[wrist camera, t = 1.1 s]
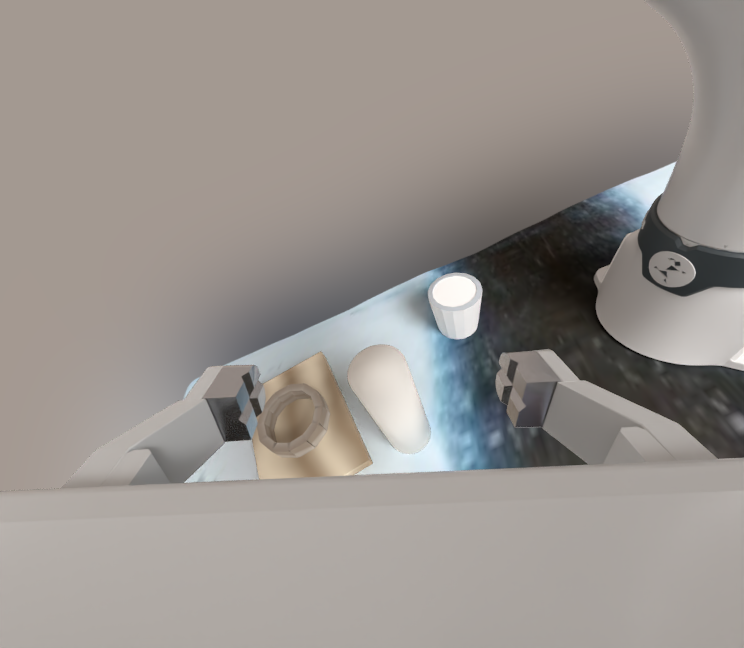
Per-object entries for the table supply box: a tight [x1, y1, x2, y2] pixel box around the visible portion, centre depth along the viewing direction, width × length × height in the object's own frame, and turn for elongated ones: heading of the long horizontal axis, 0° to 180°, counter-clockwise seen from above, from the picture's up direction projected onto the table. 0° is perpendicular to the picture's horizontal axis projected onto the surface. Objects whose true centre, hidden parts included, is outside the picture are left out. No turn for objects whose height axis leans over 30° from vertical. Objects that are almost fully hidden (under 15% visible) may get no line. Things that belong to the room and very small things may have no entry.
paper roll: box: [347, 345, 431, 454], centre depth 31 cm, size 5×5×15 cm
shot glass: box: [428, 273, 482, 339], centre depth 42 cm, size 7×7×7 cm
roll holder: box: [252, 352, 373, 479], centre depth 40 cm, size 13×18×4 cm
